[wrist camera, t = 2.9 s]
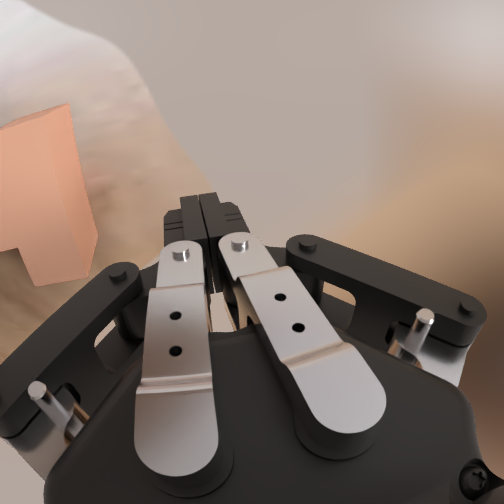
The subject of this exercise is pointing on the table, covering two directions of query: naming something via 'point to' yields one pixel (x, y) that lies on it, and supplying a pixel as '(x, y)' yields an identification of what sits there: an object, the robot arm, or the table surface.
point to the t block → (45, 198)
